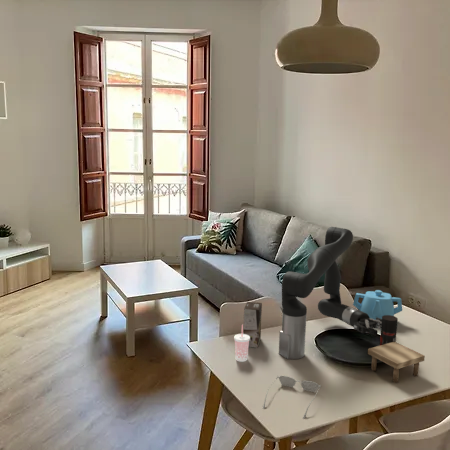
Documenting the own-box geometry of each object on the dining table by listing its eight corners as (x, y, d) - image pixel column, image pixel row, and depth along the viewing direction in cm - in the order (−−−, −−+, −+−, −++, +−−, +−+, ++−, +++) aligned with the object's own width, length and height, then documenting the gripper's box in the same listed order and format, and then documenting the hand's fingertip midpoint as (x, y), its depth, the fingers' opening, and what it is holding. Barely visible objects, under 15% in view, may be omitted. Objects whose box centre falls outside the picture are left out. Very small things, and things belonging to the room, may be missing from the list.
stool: (395, 385, 186) (397, 363, 185) (366, 368, 198) (368, 348, 197) (422, 376, 193) (424, 355, 192) (393, 360, 205) (394, 341, 204)
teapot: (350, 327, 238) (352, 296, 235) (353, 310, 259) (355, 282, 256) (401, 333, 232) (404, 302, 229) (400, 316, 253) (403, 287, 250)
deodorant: (392, 358, 208) (395, 321, 205) (377, 354, 211) (380, 318, 208) (396, 352, 213) (399, 317, 210) (381, 349, 216) (384, 314, 213)
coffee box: (258, 347, 215) (259, 309, 211) (242, 346, 216) (243, 308, 213) (261, 338, 223) (262, 302, 220) (246, 337, 225) (247, 301, 221)
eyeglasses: (320, 394, 180) (321, 383, 179) (306, 421, 164) (307, 409, 163) (277, 384, 186) (277, 374, 185) (259, 409, 170) (260, 398, 169)
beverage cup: (252, 360, 203) (253, 325, 201) (238, 363, 200) (239, 328, 197) (243, 354, 208) (244, 320, 206) (230, 357, 205) (231, 323, 203)
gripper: (343, 312, 221) (372, 325, 207) (368, 307, 228) (397, 319, 215) (342, 329, 223) (371, 343, 209) (367, 323, 230) (396, 336, 216)
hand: (384, 331), depth 212 cm, fingers open, 8 cm apart
